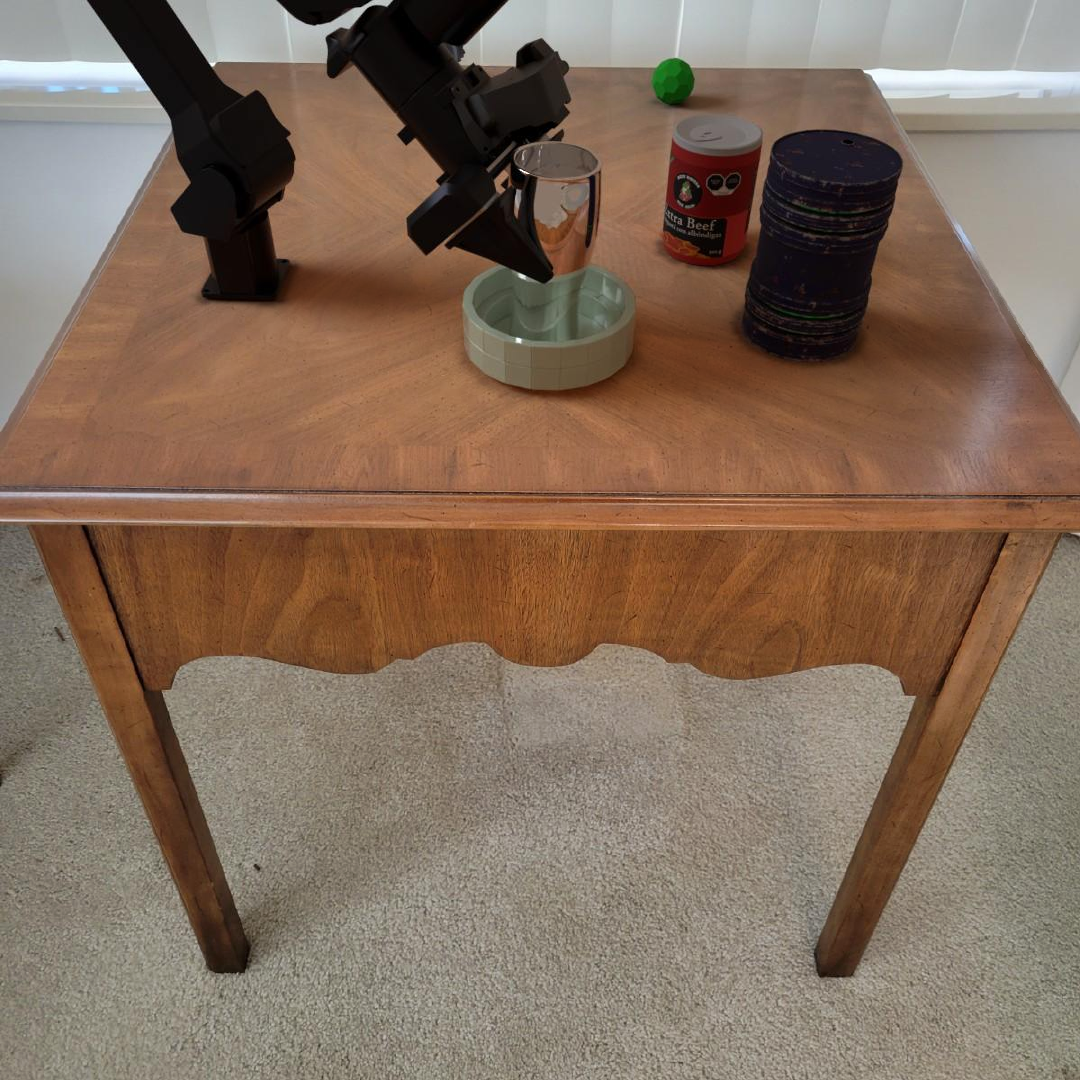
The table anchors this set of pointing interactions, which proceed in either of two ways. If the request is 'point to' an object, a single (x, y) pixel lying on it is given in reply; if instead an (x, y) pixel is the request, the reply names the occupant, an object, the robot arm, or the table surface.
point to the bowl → (549, 362)
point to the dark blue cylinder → (818, 242)
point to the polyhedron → (673, 81)
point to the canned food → (710, 188)
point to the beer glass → (555, 234)
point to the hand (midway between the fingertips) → (565, 258)
